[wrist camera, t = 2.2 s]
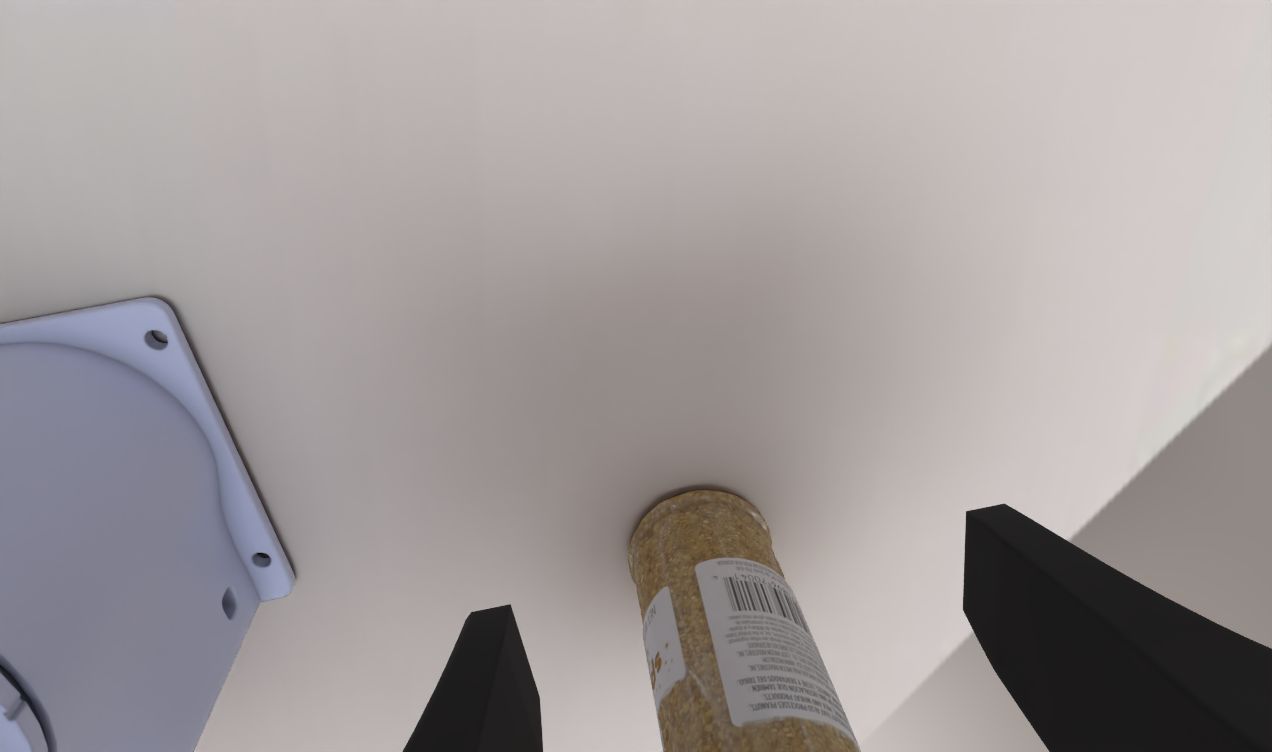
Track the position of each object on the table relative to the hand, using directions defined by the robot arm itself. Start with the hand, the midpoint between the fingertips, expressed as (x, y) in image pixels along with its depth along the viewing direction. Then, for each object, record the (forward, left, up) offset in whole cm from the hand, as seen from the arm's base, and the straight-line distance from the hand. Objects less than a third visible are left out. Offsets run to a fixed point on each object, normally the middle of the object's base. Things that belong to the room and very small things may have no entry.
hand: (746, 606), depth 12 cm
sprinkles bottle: (-7, 0, -11) cm, 13 cm away
